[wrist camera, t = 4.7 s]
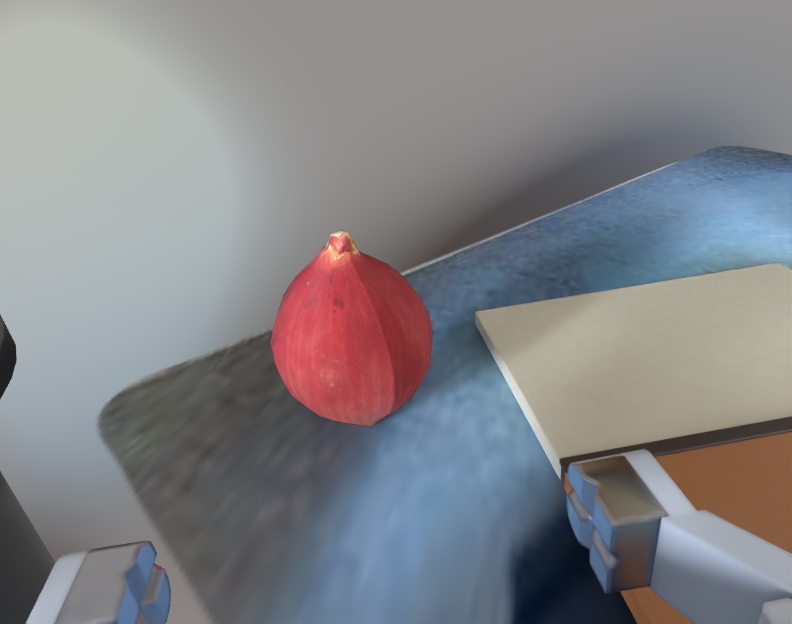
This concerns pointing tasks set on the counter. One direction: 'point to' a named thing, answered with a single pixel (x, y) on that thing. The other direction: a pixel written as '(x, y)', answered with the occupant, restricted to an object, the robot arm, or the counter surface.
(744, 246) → the counter surface
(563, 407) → the sorting board
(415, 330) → the onion
